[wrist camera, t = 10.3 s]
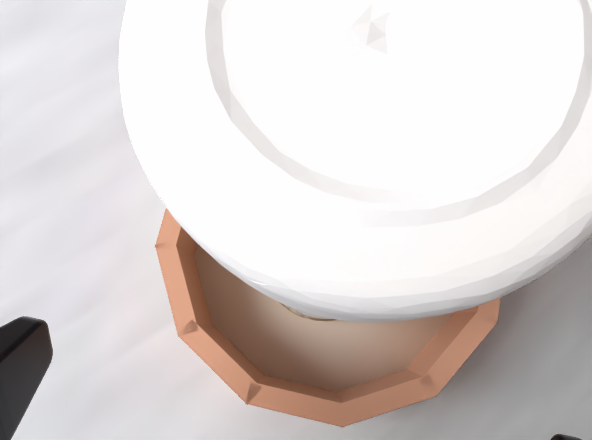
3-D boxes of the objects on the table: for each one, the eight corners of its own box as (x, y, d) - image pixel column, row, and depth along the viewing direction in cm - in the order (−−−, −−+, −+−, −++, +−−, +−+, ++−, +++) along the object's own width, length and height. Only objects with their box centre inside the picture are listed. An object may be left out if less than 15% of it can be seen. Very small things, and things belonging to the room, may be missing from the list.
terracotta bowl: (448, 436, 16) (478, 461, 13) (151, 365, 17) (118, 373, 14) (491, 148, 18) (526, 114, 15) (224, 95, 19) (209, 53, 16)
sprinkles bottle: (235, 234, 17) (4, -56, 4) (345, 168, 18) (458, -288, 4) (304, 350, 16) (291, 455, 3) (418, 278, 17) (821, 109, 4)
